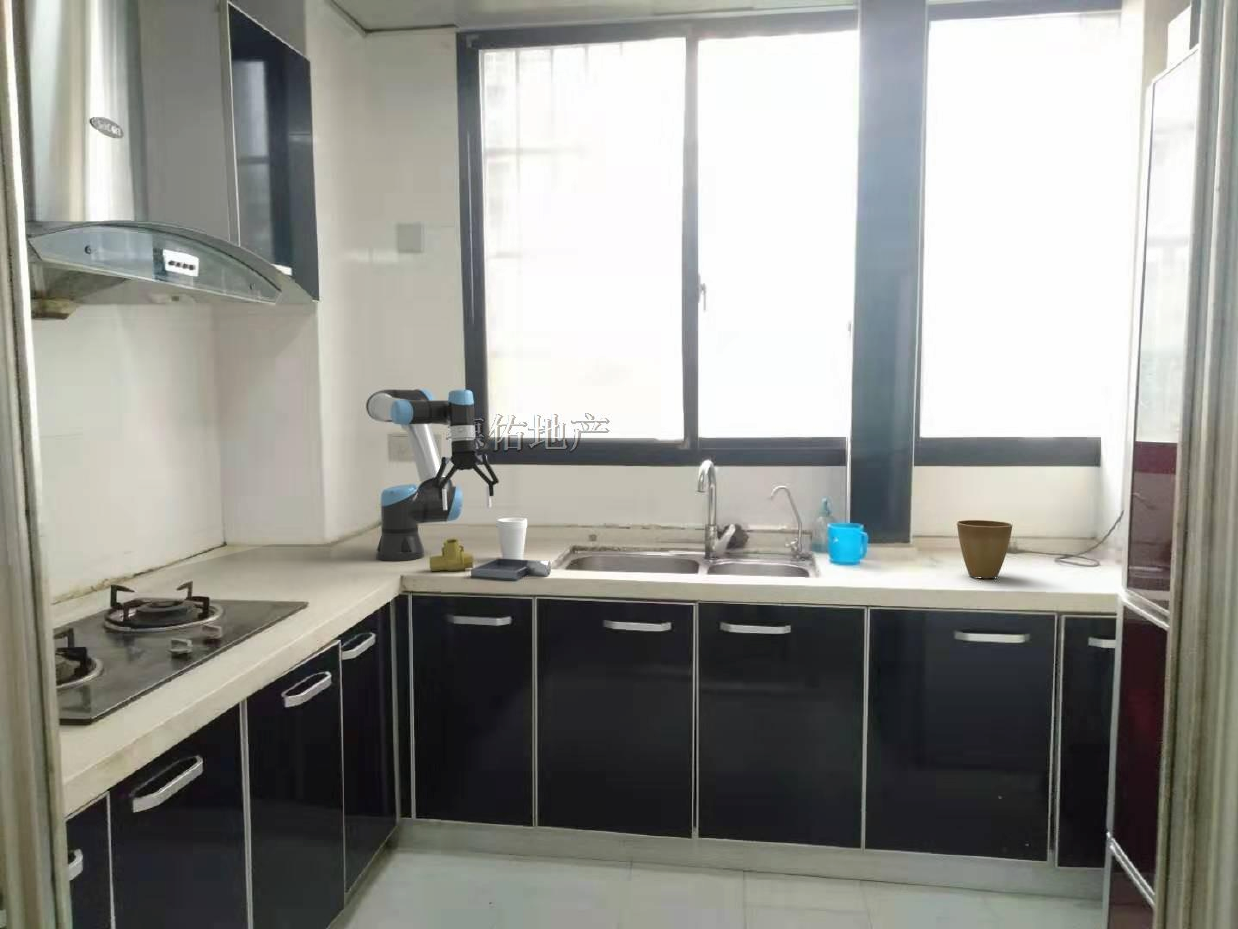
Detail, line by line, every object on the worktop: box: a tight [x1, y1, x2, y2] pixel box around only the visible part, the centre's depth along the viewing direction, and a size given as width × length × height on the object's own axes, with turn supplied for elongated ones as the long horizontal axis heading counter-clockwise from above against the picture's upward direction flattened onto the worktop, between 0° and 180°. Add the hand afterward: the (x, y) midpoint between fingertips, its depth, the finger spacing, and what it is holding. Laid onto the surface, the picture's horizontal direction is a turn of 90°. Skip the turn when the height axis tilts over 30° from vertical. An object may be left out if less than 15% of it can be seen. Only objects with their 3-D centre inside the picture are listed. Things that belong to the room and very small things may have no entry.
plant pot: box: [956, 519, 1014, 578], centre depth 244 cm, size 15×15×16 cm
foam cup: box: [496, 517, 528, 560], centre depth 270 cm, size 10×9×13 cm
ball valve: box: [429, 538, 474, 572], centre depth 254 cm, size 13×10×10 cm
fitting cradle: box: [470, 557, 552, 582], centre depth 248 cm, size 21×18×4 cm
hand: (467, 508), depth 258 cm, fingers open, 13 cm apart
